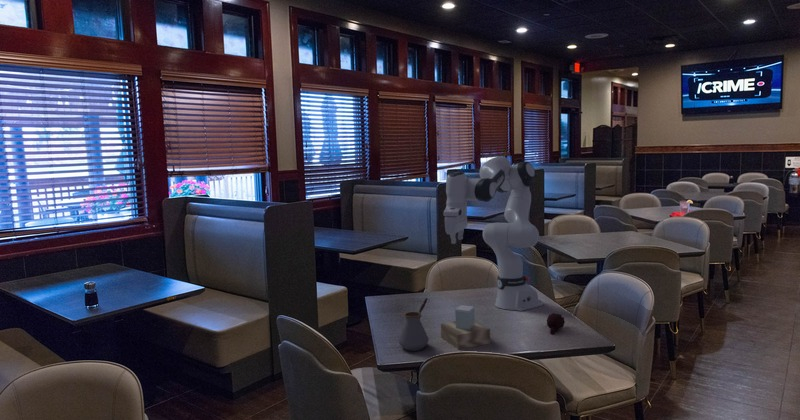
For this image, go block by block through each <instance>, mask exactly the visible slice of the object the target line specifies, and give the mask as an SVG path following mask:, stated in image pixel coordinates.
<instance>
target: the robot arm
mask: <svg viewBox="0 0 800 420" xmlns="http://www.w3.org/2000/svg"><path fill="white" fill-rule="evenodd" d="M535 176H536V171H535V168H534V166H533V165H532V163H530V162H529V161H520V162H518V163H516V164H513V165H511V162H510V159H508V158H507V157H505V156H503V155H499V156H495V157H492V158H490V159H488V160H487V161H485V162H484V163H482V165H481V166H480V168H479V178H478V177H477V178H475V177H474V178H472V177H467V176H466V173H465V172H464V171H461V170H460V171H459V170H457V171H456V170H455V171H452V172H450V173H448V174H447V177H446V181H445V182H446V184H445V185H446V186H445V193H446V194H445V195H446V202H445V205H446V207H445V209H444V210H443V217H444V228H445V229H444V230H445V233H446V235H449V237H450V240H451V241H450V243H451V244H452V245H455V244H457V239H458V240H459V241H462V240H463V239H464V231H465V230H464V229H466V228H467V227H468V201H477V202H478V201H479V202H485V203H487V202H490V201H491V200H492V199H493V198H494V197H495V195H496V193H497V192H498V193H500V194H501V193H508V192H509V191H510V195H509V197H508V199H507V203H506V206H505V210H504V212H503V214H504V219H505V220H506V221H507V222H499V221H498V222H491V223H490V222H489V223H486V225H485V226H484V228H483V229H482V238H483V241H484V242H485V243H486V245H487V246H489V247H490V248H491V249H492V250H493V252H494V254H495V256H496V260H497V271H498V273H497V282H496V283H497V284H496V285H497V294H496V299H495V304H494V306H495V307H497V308H499V309H503V310H512V311H519V312H522V311H523V312H524V311H526V310H531V309H534V308H538V307H542V306H544V301H542V300H541V299H539V295H538V294H539V293H538V292H537V290H536V289H534V288H533V287H532V286H531V285H529V284H528V283H527V282H530V281H531V278H530V277H529V276H527V275H526V276H525V275H524V274H523V269H524V268H523V267H524V266H523V265H524V264H523V263H524V262H523V259H522V258H521V257H520V255H517V254H516V253H514V252H513V251H512V249H511V247H512V248H521V249H522V248H524V249H525V248H531V247H532V248H533V247H534V246H536V245H537V243H538V241H539V238H540V232H539V229H538V228H537V227H536V226H535V225H534V224H532V223H531V222H530V221H529V213H530V210H531V204H532V193H531V191H530V189H529V188H530V187H531V186H533V181H534V180H535ZM457 233H458V234H457ZM456 234H457V238H456ZM526 281H527V282H526Z"/></svg>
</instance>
